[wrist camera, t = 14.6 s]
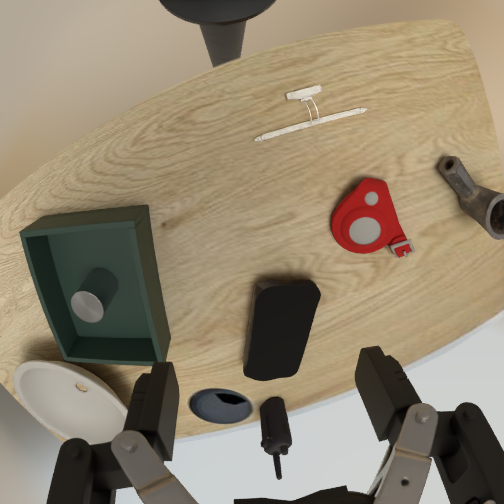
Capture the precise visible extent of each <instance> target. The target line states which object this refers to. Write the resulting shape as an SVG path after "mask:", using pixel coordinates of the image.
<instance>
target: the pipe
mask: <svg viewBox="0 0 504 504" xmlns="http://www.w3.org/2000/svg"><path fill="white" fill-rule="evenodd" d="M439 170H440V172H441V173H442V175H443V176H444V177H445V178H446V180H447V181H448V182H449V184H450V185H451V186H452V187H453V189H454V190H455V191H456V192H457V194H458V195H459V196H460V205H461V207H462V209H463V210H464V211H465V212H466V213H467V214H468V215H469V216H471V217H472V218H473V219H474V220H476V221H477V222H478V223H479V224H480V225H481V226H482V227H483V228H484V229H485V230H486V231H487V232H488V233H489V234H490V235H491V237H493V238H494V239H497V240H501V239H504V193H499V192H496V191H493V190H490V189H487V188H484V187H481V186H478V185H476V184H475V183H474V181H473V180H472V178H471V177H470V175H469V174H468V172H467V170H466V169H465V167H464V166H463V164H462V162H461V161H460V159H459V158H457V157H456V156H448V157H446V158H444V159H443V160H442V162H441V163H440V164H439Z"/></svg>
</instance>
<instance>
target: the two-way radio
mask: <svg viewBox="0 0 504 504" xmlns="http://www.w3.org/2000/svg"><path fill="white" fill-rule="evenodd" d="M260 418H261V430H262V441H261V447H264V451H265V452H266V453H268V454H269V455H273V460H274V466H275V471H276V477H277V479H278V480H280V479H281V478H282V474H281V464H280V457H279V455H280V454H281V453H282V455H287V454H288V448H289V447H290V446H291V445H292V438H291V432H290V428H289V423H288V417H287V413H286V409H285V404H284V400H283V399H281V398H271V399H269V400H267V401H266V402H265V403H264V404H263V405H262V406H261V408H260Z"/></svg>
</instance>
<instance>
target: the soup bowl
mask: <svg viewBox="0 0 504 504" xmlns="http://www.w3.org/2000/svg"><path fill="white" fill-rule="evenodd" d="M13 383H14V388H15V390H16V393H17V395H18V397H19V399H20V400H21V402H22V403H23V405H24V406H25V407H26V409H27V410H28V411H29V412H30V413H31V414H32V415H33V416H34V417H35V418H36V419H37V420H38V421H39V422H41V423H42V424H43V425H44V426H46V427H47V428H48V429H50V430H51V431H53V432H55V433H56V434H58V435H60V436H62V437H63V438H65V439H67V440H69V439H71V438H81V439H84V440H86V441H87V442H88V443H89V445H92V444H99V443H106V442H110V441H112V440H113V438H114V437H115V436H116V435H117V434H119V433H120V432H122V430H123V428H124V424H125V420H126V416H127V412H128V409H127V408H126V407H125V405H124V404H123V403H122V402H121V401H120V399H119V398H118V396H117V395H116V394H115V392H114V391H113V390H112V389H111V388H110V387H109V386H108V385H107V384H106V383H105V382H103V381H102V380H101V379H100V378H98V377H97V376H95V375H94V374H92V373H91V372H89V371H87V370H85V369H83V368H81V367H79V366H76V365H73V364H70V363H66V362H61V361H43V360H30V361H26V362H23V363H21V364H20V365H19V366H18V367H17V368H16V369H15V371H14V375H13ZM77 383H79V384H82V385H84V386H85V387H86V388H87V391H86V392H84V391H81V390H79V389H78V388H77V387H76V384H77Z"/></svg>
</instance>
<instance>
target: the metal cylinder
mask: <svg viewBox="0 0 504 504" xmlns="http://www.w3.org/2000/svg"><path fill="white" fill-rule="evenodd" d="M117 290H118V282H117V279H116V278H115V276H114V275H113V274H112V273H111V272H110V271H108V270H106V269H103V268H97V269H94V270H93V271H91V273H90V274H89V275H88V276H87V278H86V279H85V280H84V282H83V283H82V284H81V285H80V287H79V288H78V289H77V291H76V292H75V293H74V295H73V296H72V299H71V306H72V309H73V311H74V312H75V314H76V315H77V316H78V317H79V318H80V319H82V320H84V321H86V322H90V323H94V322H98V321H100V320H101V319H102V317H103V315H104V314H105V312H106V310H107V308H108V306H109V305H110V303H111V301H112V299H113V298H114V296H115V294H116V292H117Z"/></svg>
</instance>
